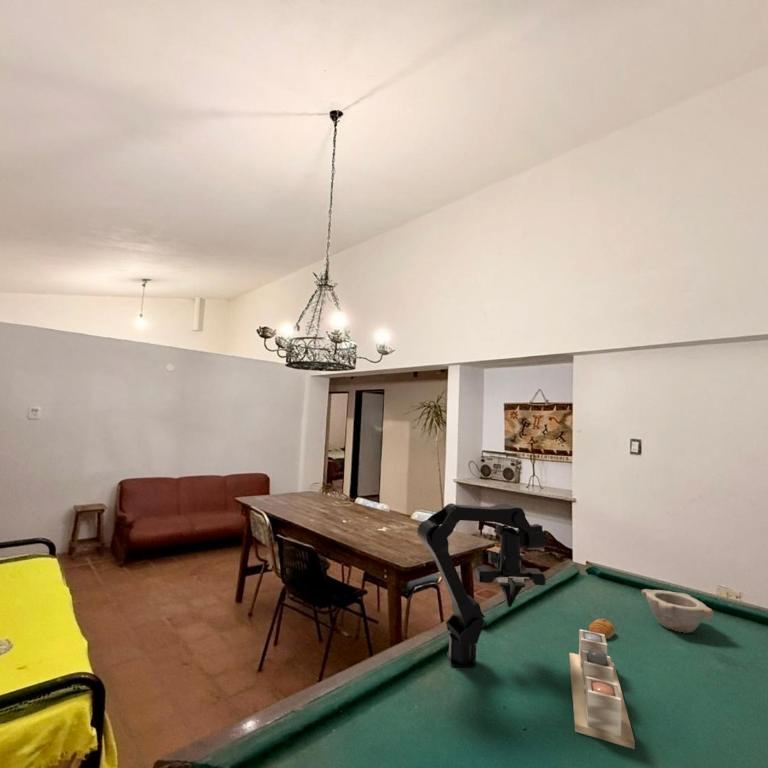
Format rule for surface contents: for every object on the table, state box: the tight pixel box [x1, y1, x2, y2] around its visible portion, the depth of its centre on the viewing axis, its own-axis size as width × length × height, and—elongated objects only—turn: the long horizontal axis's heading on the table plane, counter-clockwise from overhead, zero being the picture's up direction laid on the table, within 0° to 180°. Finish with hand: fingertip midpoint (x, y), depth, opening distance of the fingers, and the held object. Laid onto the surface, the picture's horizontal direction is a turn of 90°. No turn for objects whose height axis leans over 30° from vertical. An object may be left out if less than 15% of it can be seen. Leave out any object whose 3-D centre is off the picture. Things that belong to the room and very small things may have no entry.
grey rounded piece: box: [588, 649, 608, 666], centre depth 103 cm, size 4×4×4 cm
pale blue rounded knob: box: [585, 633, 601, 642], centre depth 114 cm, size 4×4×4 cm
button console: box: [569, 629, 636, 750], centre depth 103 cm, size 11×31×8 cm, turn 158°
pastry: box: [588, 618, 616, 640], centre depth 133 cm, size 9×7×4 cm
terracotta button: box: [593, 682, 613, 696], centre depth 92 cm, size 4×4×4 cm
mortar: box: [641, 588, 714, 634], centre depth 142 cm, size 17×17×9 cm
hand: (509, 606), depth 120 cm, fingers closed
